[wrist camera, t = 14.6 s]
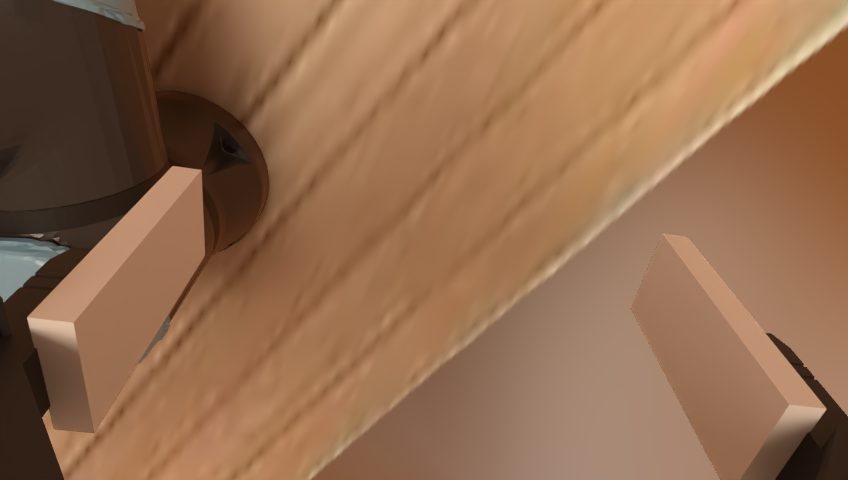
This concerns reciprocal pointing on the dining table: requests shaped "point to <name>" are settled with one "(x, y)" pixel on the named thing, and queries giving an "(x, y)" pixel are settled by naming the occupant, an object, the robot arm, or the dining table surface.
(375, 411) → the dining table surface
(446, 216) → the dining table surface
